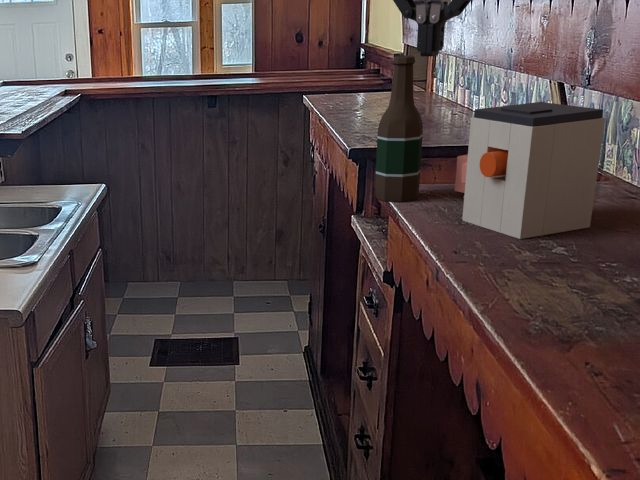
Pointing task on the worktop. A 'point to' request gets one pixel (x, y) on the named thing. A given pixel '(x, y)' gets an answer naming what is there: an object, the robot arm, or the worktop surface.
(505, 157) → the power button
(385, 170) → the beer bottle
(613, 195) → the worktop surface
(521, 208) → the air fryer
